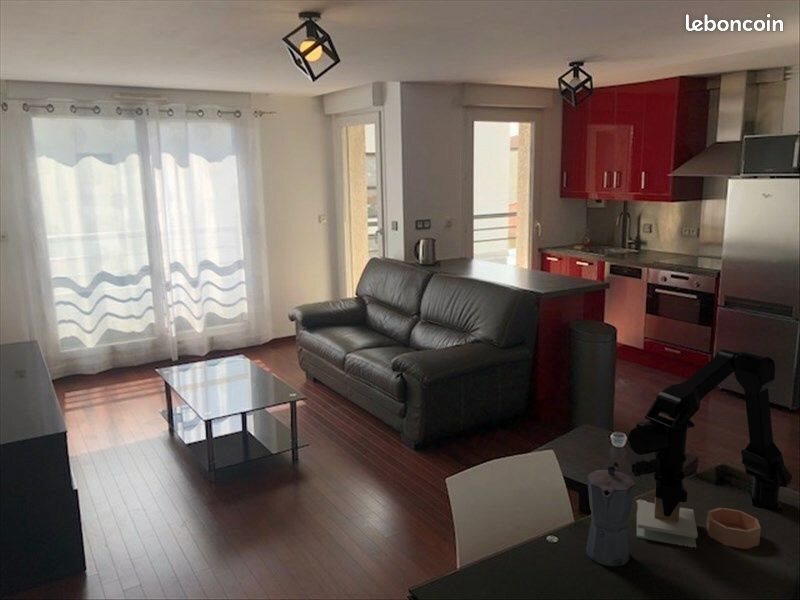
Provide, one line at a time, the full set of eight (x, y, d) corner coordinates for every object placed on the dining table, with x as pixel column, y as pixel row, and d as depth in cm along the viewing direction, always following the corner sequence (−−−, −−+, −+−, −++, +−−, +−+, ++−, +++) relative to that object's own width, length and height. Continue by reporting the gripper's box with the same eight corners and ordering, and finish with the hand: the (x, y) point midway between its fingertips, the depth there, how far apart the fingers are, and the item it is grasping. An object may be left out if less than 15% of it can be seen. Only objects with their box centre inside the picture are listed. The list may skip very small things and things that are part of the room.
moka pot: (579, 568, 127) (584, 475, 124) (586, 532, 141) (591, 447, 138) (629, 579, 124) (635, 483, 121) (631, 540, 138) (638, 454, 135)
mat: (636, 512, 150) (636, 510, 150) (691, 522, 146) (691, 520, 146) (636, 537, 139) (636, 535, 139) (696, 548, 135) (696, 545, 135)
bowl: (705, 521, 147) (706, 505, 146) (753, 529, 143) (755, 513, 143) (709, 542, 137) (711, 525, 137) (761, 551, 134) (763, 534, 133)
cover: (637, 503, 150) (639, 480, 149) (692, 512, 146) (694, 489, 145) (637, 527, 139) (639, 503, 138) (697, 538, 135) (699, 512, 134)
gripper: (633, 428, 151) (629, 489, 154) (632, 457, 134) (628, 525, 136) (683, 434, 147) (678, 497, 150) (690, 465, 130) (684, 535, 132)
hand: (666, 512), depth 142 cm, fingers closed on cover, 3 cm apart
